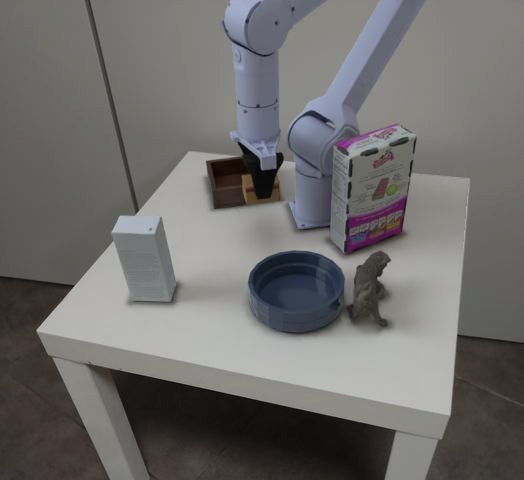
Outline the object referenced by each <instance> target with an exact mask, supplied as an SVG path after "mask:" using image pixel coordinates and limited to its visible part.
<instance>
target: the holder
mask: <svg viewBox="0 0 524 480" xmlns="http://www.w3.org/2000/svg"><path fill="white" fill-rule="evenodd" d="M205 166H206V173H207V174H206V175H207V180H208V184H209V189H210V195H211V200H212V205H213V209H214V210H217V209H225V208H232V207H238V206H248V205H247V204H246V201H245V198H244V194H243V185H242V175H249V172H248V169H247V167H246V165H245V163H244V161H243V158H242V155H239V156H232V157H224V158H216V159H208V160H205ZM276 177H277V179H278V182H279V183H280V180H279V177H278V174H277V175H276ZM280 188H281V187H280V186H279V201H280V199H281V198H280V197H281V194H280V193H281V191H280V190H281V189H280Z"/></svg>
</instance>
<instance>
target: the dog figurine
mask: <svg viewBox="0 0 524 480" xmlns="http://www.w3.org/2000/svg"><path fill="white" fill-rule="evenodd" d="M390 262H392V258H391V257H390V256H389V255H388V253H385V252H384V251H382V250H377V251H375V252H373V253H371V254H370V255H369V256H368V257H367V258H366V259H365V260H364V262H363V263H362V264H358V265H356V267H355V275H354V278H353V284H354V287H353V288H354V289H353V291H354V298H353V300H352V304H349V305H348V306H347V307H346V309H347V311H348V312H349V315H351V318H352V320H354V319H356V318H357V317H358V316H359V314H362V315H363V317H365V318H370V317H371V316H372V317H373V319H374V321H375V322H376V323H378V324H379V325H383V326H387V325H388V324H389V322H388V320H387V319H386V318H383V317H382V316H381V313H380V309H379V307H380V306H379V300H381V298H384V297H385V296H386V295H387V291H386V288H385V285H384V284H383V283H381V281H379V279H378V278H380V277H382V276H383V273H384V269H385V268H387V266H388V264H389V263H390Z"/></svg>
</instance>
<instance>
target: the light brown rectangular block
mask: <svg viewBox="0 0 524 480" xmlns="http://www.w3.org/2000/svg"><path fill="white" fill-rule="evenodd" d="M277 177H278V176H277ZM277 177H276V178H275V182H274V187H273V191H272V195H271V198H267V199H259V200H258V199H257V197H256V194H255V191H254V187H253V182H252V177H251V174H250V175H242V185H243V194H244V198H245V201H246V204H247V205H246V206H250V205H258V204H266V203H274V202H279V201H280V200H279V187H280V181H279V182H278V180H279V178H278V179H277Z"/></svg>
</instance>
